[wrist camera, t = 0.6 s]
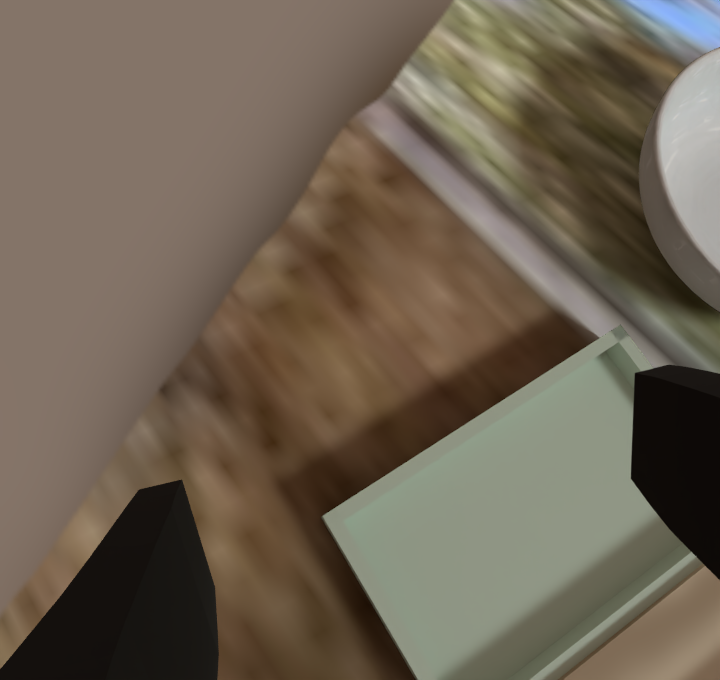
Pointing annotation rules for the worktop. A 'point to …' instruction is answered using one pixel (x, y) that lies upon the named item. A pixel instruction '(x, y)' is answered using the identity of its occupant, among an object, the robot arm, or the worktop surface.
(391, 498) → the box
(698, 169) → the serving bowl
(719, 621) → the birch board
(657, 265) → the worktop surface
